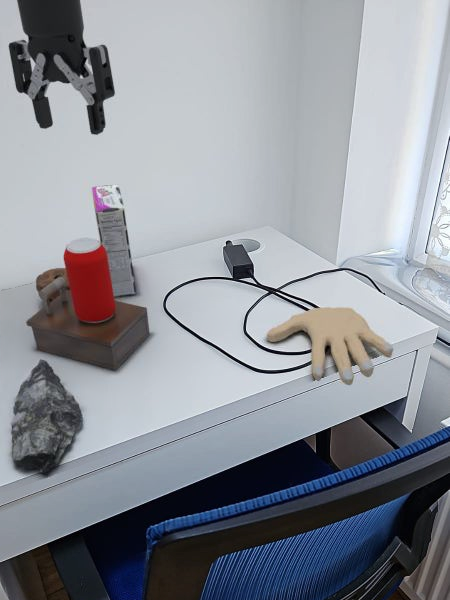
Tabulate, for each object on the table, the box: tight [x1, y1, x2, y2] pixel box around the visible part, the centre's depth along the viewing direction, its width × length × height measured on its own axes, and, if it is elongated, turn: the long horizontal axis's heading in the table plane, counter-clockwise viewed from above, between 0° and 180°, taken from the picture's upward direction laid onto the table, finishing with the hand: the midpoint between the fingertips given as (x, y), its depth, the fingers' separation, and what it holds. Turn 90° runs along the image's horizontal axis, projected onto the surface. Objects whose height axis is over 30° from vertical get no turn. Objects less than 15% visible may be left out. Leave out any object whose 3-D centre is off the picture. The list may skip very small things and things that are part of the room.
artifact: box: [35, 267, 70, 302], centre depth 102 cm, size 8×8×5 cm
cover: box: [25, 277, 148, 347], centre depth 90 cm, size 15×11×5 cm
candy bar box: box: [91, 184, 137, 298], centre depth 104 cm, size 11×5×16 cm, turn 13°
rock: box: [10, 358, 83, 474], centre depth 79 cm, size 9×22×4 cm, turn 15°
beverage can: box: [63, 237, 116, 323], centre depth 86 cm, size 6×6×12 cm
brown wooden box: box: [31, 311, 150, 371], centre depth 93 cm, size 15×11×4 cm
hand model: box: [266, 306, 394, 386], centre depth 91 cm, size 19×5×20 cm
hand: (71, 130), depth 81 cm, fingers open, 8 cm apart
